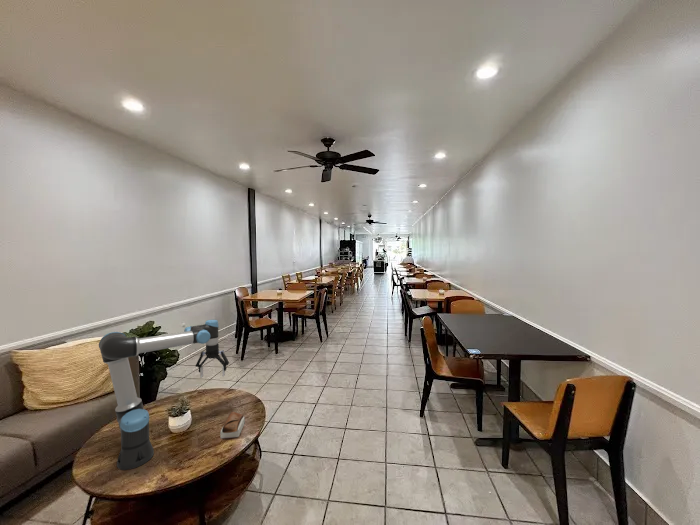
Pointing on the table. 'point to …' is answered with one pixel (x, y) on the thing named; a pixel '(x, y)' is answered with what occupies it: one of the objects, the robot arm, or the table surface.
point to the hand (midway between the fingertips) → (212, 376)
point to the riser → (234, 434)
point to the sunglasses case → (232, 422)
